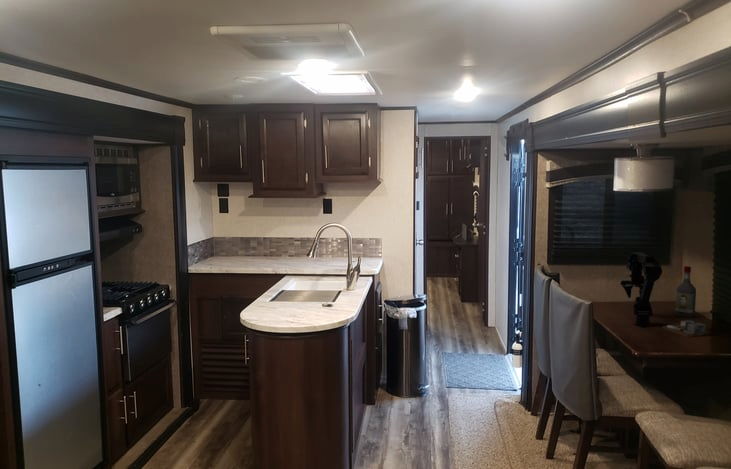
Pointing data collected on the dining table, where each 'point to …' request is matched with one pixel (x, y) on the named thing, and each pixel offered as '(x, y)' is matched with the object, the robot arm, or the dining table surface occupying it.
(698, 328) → the gauge base
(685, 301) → the liquor
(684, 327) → the push plate
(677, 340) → the dining table surface
